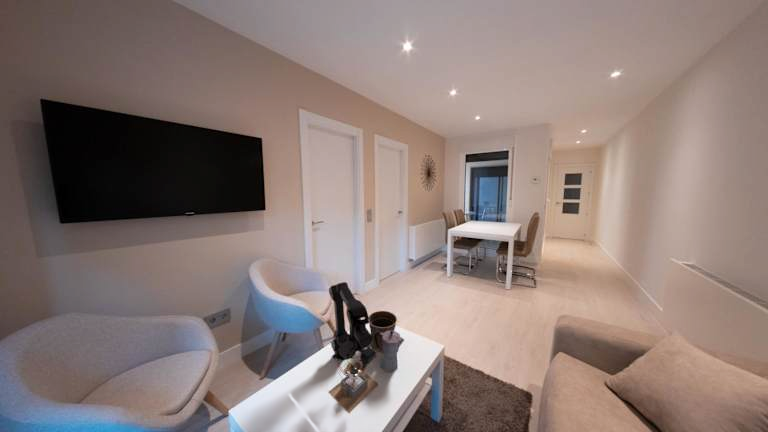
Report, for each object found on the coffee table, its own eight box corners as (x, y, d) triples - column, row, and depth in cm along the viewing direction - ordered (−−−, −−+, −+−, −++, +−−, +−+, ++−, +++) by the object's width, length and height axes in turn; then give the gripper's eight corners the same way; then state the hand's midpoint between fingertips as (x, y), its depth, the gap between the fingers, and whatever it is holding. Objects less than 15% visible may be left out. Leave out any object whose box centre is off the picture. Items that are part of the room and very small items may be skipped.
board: (328, 393, 102) (328, 391, 102) (358, 368, 116) (358, 367, 116) (349, 415, 93) (349, 413, 93) (379, 385, 107) (379, 384, 106)
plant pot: (370, 333, 142) (371, 309, 140) (397, 336, 140) (398, 311, 137) (365, 352, 126) (365, 326, 124) (394, 356, 124) (395, 329, 122)
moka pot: (402, 377, 111) (403, 339, 108) (370, 371, 114) (371, 335, 111) (404, 362, 120) (405, 327, 117) (375, 357, 123) (375, 322, 120)
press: (338, 390, 103) (338, 382, 102) (355, 376, 110) (355, 369, 109) (351, 402, 98) (351, 394, 97) (367, 387, 105) (367, 379, 104)
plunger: (344, 382, 103) (344, 368, 102) (354, 374, 108) (354, 360, 107) (353, 390, 100) (353, 376, 98) (363, 381, 104) (363, 367, 103)
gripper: (327, 332, 99) (327, 364, 102) (358, 353, 88) (358, 389, 91) (346, 320, 108) (346, 349, 111) (377, 338, 97) (376, 370, 99)
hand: (356, 364), depth 103 cm, fingers open, 9 cm apart
